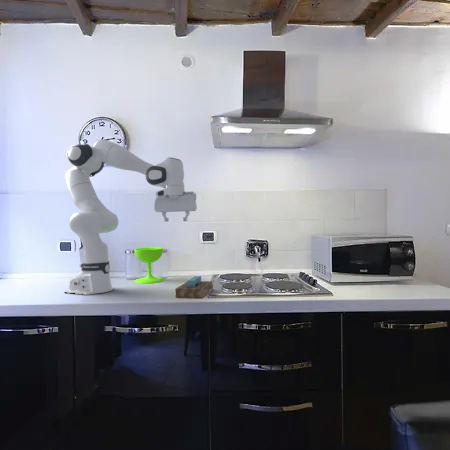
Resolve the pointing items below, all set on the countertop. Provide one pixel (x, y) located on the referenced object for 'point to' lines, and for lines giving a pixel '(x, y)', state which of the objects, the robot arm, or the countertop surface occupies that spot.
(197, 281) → the teal long block
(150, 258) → the wineglass
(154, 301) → the countertop surface
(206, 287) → the wooden board with holes
